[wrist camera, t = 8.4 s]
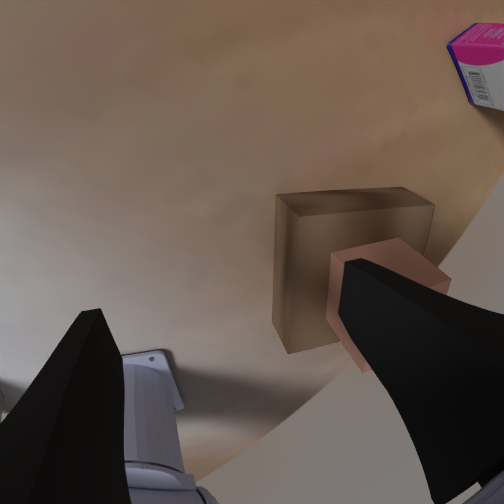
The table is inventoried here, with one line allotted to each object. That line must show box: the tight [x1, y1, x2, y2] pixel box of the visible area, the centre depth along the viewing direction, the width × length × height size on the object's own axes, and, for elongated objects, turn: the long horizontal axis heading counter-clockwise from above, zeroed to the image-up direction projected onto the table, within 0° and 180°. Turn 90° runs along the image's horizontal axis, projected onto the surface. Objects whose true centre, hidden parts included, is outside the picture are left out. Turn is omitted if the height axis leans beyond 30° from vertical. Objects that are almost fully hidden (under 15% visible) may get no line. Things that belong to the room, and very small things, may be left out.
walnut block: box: [272, 187, 435, 354], centre depth 21 cm, size 10×10×4 cm
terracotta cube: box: [326, 237, 451, 373], centre depth 17 cm, size 5×5×5 cm
